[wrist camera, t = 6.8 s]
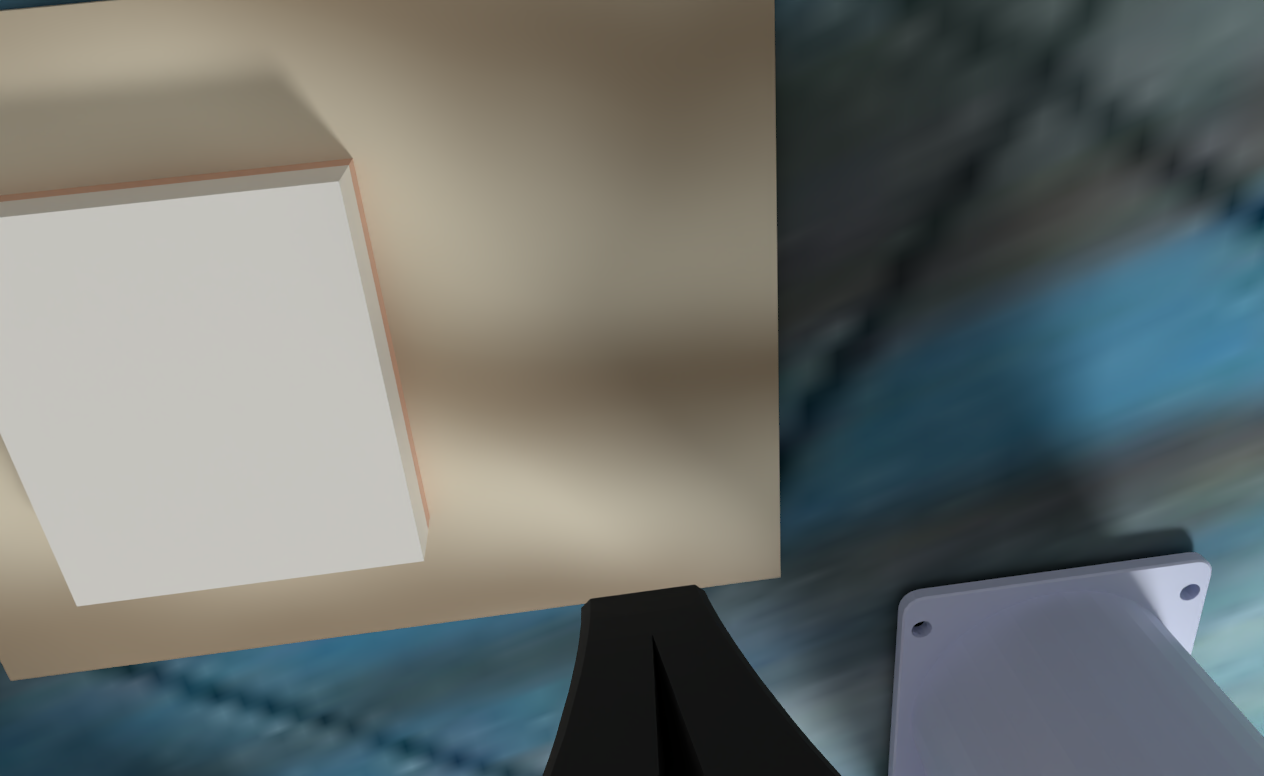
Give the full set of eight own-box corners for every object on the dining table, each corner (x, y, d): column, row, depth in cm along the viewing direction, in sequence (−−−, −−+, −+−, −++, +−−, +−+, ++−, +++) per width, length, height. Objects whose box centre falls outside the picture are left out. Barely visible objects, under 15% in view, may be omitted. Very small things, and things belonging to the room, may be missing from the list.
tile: (424, 561, 20) (76, 606, 20) (430, 516, 21) (106, 558, 21) (339, 181, 16) (-92, 227, 16) (352, 158, 18) (-43, 200, 17)
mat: (777, 569, 24) (780, 577, 23) (16, 671, 22) (10, 680, 22) (769, -63, 17) (774, -62, 17) (-301, 38, 16) (-314, 40, 16)
